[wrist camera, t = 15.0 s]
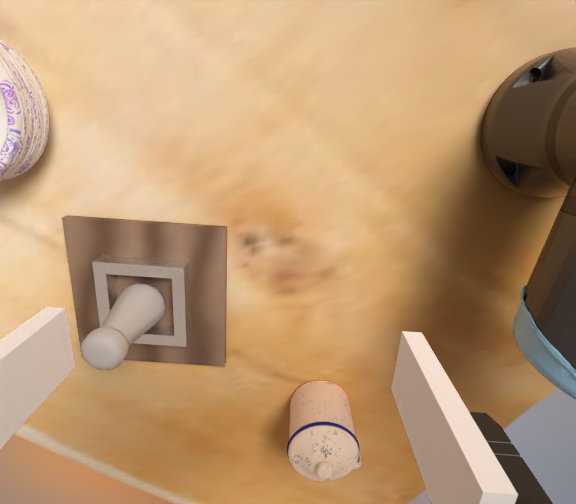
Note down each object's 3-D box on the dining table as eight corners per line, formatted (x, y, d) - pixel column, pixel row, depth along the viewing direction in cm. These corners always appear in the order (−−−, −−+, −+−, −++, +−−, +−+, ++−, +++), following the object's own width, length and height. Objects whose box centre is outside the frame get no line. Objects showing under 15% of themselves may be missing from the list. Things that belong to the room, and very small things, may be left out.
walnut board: (226, 226, 46) (225, 228, 45) (225, 362, 52) (224, 366, 51) (67, 215, 46) (62, 217, 45) (85, 352, 52) (81, 356, 52)
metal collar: (189, 260, 46) (183, 267, 44) (191, 336, 50) (186, 346, 48) (102, 254, 46) (92, 261, 44) (110, 330, 50) (101, 341, 48)
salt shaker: (128, 314, 49) (71, 378, 37) (124, 275, 47) (64, 328, 35) (171, 318, 49) (129, 382, 37) (170, 278, 47) (125, 332, 35)
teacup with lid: (275, 402, 55) (270, 473, 44) (320, 366, 52) (325, 430, 41) (332, 447, 57) (340, 524, 46) (376, 414, 55) (396, 487, 44)
